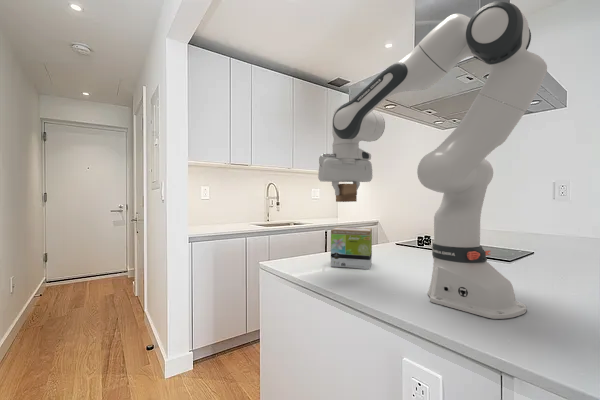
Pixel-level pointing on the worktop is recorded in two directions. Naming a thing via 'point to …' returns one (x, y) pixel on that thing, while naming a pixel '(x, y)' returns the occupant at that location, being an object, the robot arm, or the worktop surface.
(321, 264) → the worktop surface
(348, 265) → the tea box
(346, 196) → the walnut block
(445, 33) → the robot arm
